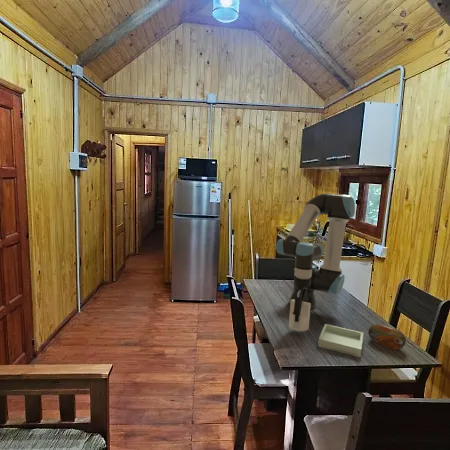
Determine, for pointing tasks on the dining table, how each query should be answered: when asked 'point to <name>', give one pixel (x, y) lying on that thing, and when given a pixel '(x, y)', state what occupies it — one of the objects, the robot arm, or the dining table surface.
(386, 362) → the dining table surface
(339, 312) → the dining table surface
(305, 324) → the base with upright slab
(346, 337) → the bin
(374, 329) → the tin
